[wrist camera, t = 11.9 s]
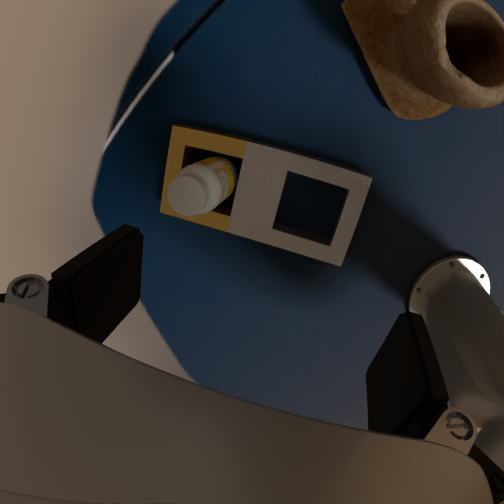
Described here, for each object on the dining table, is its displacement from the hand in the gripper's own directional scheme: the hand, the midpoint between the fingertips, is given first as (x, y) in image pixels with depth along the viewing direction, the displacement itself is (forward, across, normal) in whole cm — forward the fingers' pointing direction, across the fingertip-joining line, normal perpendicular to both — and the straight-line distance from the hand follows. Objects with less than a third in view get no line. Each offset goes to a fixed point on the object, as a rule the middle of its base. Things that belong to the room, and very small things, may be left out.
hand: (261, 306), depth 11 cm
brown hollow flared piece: (+29, -8, -17) cm, 34 cm away
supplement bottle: (+28, +10, +4) cm, 31 cm away
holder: (+28, +4, +4) cm, 29 cm away
